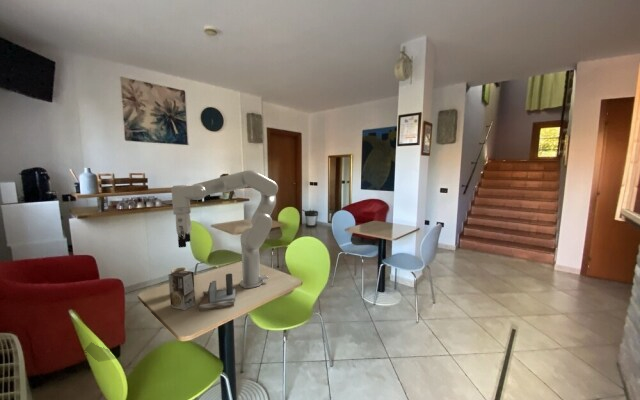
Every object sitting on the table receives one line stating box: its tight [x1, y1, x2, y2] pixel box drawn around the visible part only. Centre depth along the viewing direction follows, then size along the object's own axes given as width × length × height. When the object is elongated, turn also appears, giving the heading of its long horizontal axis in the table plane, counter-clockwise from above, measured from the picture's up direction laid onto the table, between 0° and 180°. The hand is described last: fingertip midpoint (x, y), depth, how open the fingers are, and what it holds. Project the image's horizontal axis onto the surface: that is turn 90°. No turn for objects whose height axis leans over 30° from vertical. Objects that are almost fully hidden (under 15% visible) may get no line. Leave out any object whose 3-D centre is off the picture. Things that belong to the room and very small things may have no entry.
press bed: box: [198, 287, 235, 312], centre depth 128 cm, size 15×15×2 cm
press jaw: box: [207, 273, 236, 303], centre depth 128 cm, size 12×11×12 cm
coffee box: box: [168, 270, 196, 311], centre depth 123 cm, size 9×6×16 cm
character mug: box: [170, 266, 190, 274], centre depth 135 cm, size 11×7×13 cm, turn 153°
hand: (184, 244), depth 130 cm, fingers open, 9 cm apart
